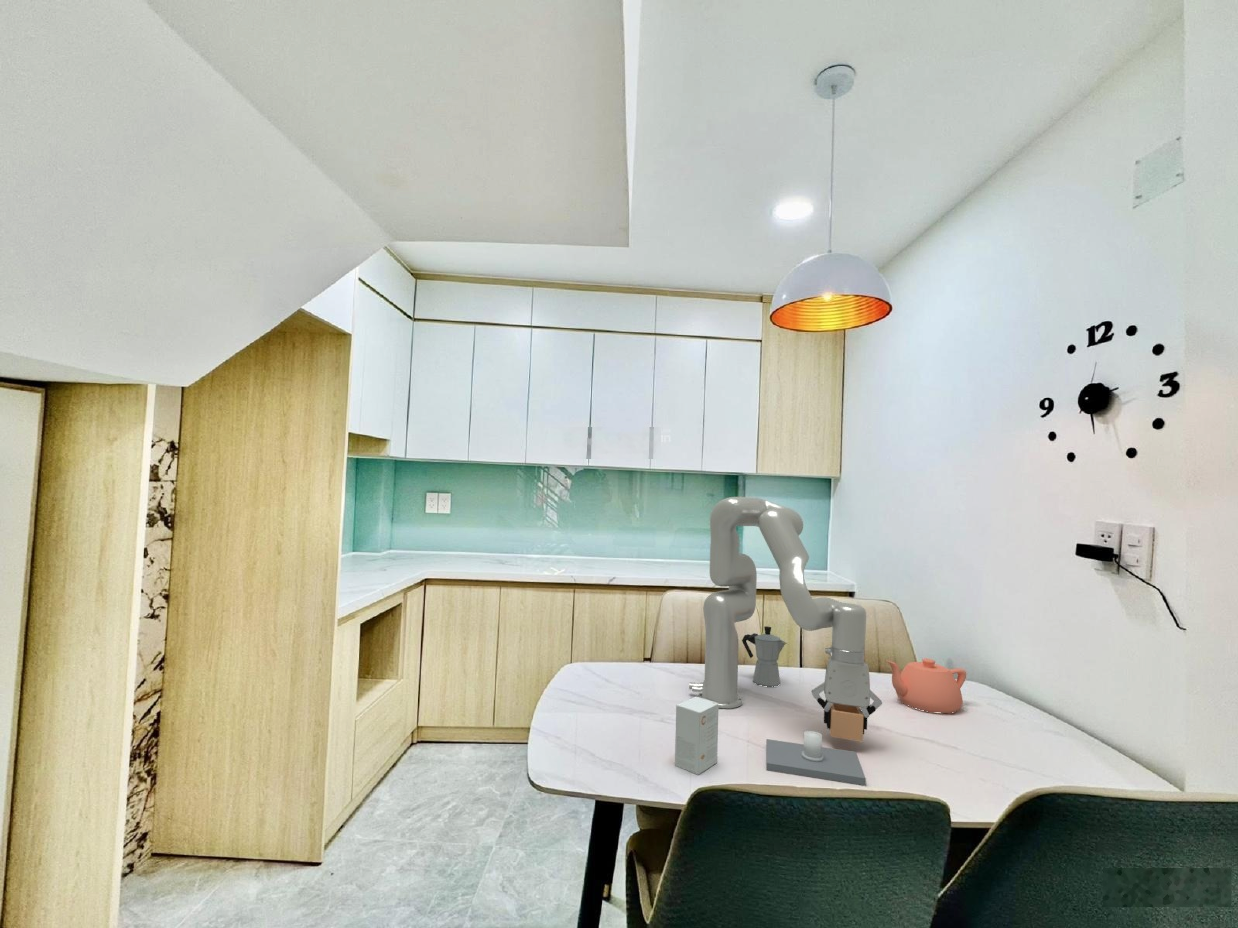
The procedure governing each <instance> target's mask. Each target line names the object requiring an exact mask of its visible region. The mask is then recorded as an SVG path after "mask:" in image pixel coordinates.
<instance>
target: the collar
mask: <svg viewBox="0 0 1238 928" xmlns="http://www.w3.org/2000/svg"><path fill="white" fill-rule="evenodd" d="M830 712H831V724H830V729H828V731H829V734H830V738H831V737H832V738H837V739H838V738H839V739H843V740H850V741H854V742H862V743H863V742H864V741H863V737H864V736H863V735H864V734H863V717H864V716H863V713H862V710H861V708H860V707H854V706H847V705H840V704H834V703H833V705H832V707H831V708H830Z"/></svg>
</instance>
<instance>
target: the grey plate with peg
mask: <svg viewBox="0 0 1238 928" xmlns="http://www.w3.org/2000/svg"><path fill="white" fill-rule="evenodd" d="M765 741H766V742H765V743H766V747H765V749H766V750H765V753H766V754H765V755H766V763H765V765H766V769H765V770H766V771H768V772H769V771H771V772H775V773H776V772H777V773H782V774H783V773H784V774H788V775H789V774H790V775H795V776H803V777H807V778H813V779H821V780H827V781H831V782H832V781H834V782H839V783H840V782H841V783H846V784H853V785H857V784H860V785H859V786H864V785H865V786H866V784H867V783H866V778H867V777H866V775H865V772H864V770H863V767H862V764H861V763H860V759H859V757H858V754H857V751H853V750H845V749H837V748H831V747H824V746H822V745H823V735H822V734H821V733H820V732H818V731H813V730H805V731H804V732H803V743H796V742H790V741H783V740H776V739H767V738H766V740H765ZM865 786H864V787H865Z"/></svg>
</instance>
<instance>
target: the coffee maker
mask: <svg viewBox="0 0 1238 928" xmlns="http://www.w3.org/2000/svg"><path fill="white" fill-rule="evenodd" d="M763 628H764V633H762V634H761V633H760V634H758V633H754V632H753V633H752V634H745V635H743V637H742V639H741V642H742V644H743V647H744V648H745V650H746V653H747V654H748V657H749V659H752V658H753V657H754V655H753V652H752V650H751V648H750V646H749V644H748V643H747V642H750V644H751V643H752V644H753V645H755V655H756V659H757V660H756V661H755V662H756V663H755V668H754V673H753V678H752V683H753V684H755V683H756V684H757V685H756V684H755V685H756V686H759V685H762V686H761V687H763V686H767V687H766V688H775V687H774V686H778V685H779V684H780V685H781V680H780V672H779V671H780V670H779V663H778V662H777V661H778V660H779V657H780V653H781V652H782V650H783V649H784V647H785V645H787V644H788V643H787V642H786V641H784V640H782V639H781V638H780V637H778V636H776V635H774V634H772V633H771V631H772V627H771V626H764V627H763ZM780 685H779V686H780ZM772 686H773V687H772ZM779 686H778V687H779Z"/></svg>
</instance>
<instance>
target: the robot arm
mask: <svg viewBox="0 0 1238 928" xmlns="http://www.w3.org/2000/svg"><path fill="white" fill-rule="evenodd" d="M737 527H757V528H758V529H759V530H760V532H761V535H762V537H763V539H764V541H765V543H766V545H767V547H768V548H769V550H770V553H771V555H772V557H773V559H774V561H775V563H776V565H777V567H778V570H779V575H778V576H779V588H780V593H781V594H780V595H781V597H782V600H783V603H784V604H785V606H786V609H787V610H788V612H789V614H790V616H791V618H792V620H793V621H794V622H795V624H796V625H797V626H798V627H799V628H801V630H805V631H808V632H812V631H818V630H822V629H828V628H832V632H831V634H832V635H831V645H830V647H825V648H824V649H825V650H824V652H825V655H826V654H827V655H830V656H829V657H828V659H827V664H826V669H825V674H824V675H825V676H824V681H823V682H822V683H821V684H819V685H818V686H816V687H815V688H813V689H811V695H812V696H813V698H814V699H815V700H816V702H817V704H818V705H819V706H820V707H821V708H822V709H823V724H825V725H826V729H828V730H829V729H830V724H831V712H830V708H831V707H832V705H833V703H834V704H840V705H847V706H854V707H860V709H861V711H862V713H863V716H864V717H863V735H865V731H867V730H868V719H869V718H870V716H871V715H872V714H873V713H874V712H876V710H877V709H878V708H879V707H881V706H882V705H883V702H882V700H881V699H880V697H878V696H877V695H876V694H875V693H874V692H873V691H872V690H871V680H870V669H869V665H868V663H867V662H865V656H866V655H865V653H866V629H867V611H866V609H865V608H864V606H862V605H859V604H855V603H848V602H847V603H846V602H842V601H839V600H835V599H833V598H830V597H827V596H822V597H815V598H813V597H812V595H811V593H810V591H809V589H808V587H807V585H806V582H805V574H804V573H805V569H806V566H807V564H808V562H809V560H810V555H809V553H808V551H807V549H806V547H805V545H804V544H803V542H802V540H801V538H800V537H799V536H800V535H801V534H802V533H803V529H804V521H803V519H802V516H801V515H800V514H799V513H798V512H797V511H796V510H794V509H791V508H789V507H786V506H783V505H781V504H777V503H774V502H772V501H769V500H766V499H763V498H760V497H759V498H758V497H748V496H731V497H726V498H723V499H721V500H720V501H718V502H717V503H716V504H715V505H714V507H713V508H712V509H711V512H710V518H709V528H710V529H709V531H710V543H709V544H710V546H709V578H710V581H711V582H712V583H713V584H714V585H715V586H719V587H728V589H727V590H726V589H725V590H719V591H715V592H712V593H711V594H709V595H708V596H707V597H706V598H705V600H704V601H703V606H702V610H703V611H702V612H703V617H704V627H705V628H704V629H705V644H704V645H705V648H704V649H705V650H704V651H705V652H704V653H705V656H704V680H703V682H700V683H696V682H690V681H689V687H688V689H689V690H691V692H696V693H697V692H698V697H699V698H703V699H706V700H710V701H713V702H716V703H718V704H719V709H734V708H735V709H737V708H739V707H740V706H742V705H743V698H742V697H741V695H739V694H738V678H739V675H738V673H739V672H738V671H739V635H738V634H739V633H738V632H737V629H736V624H735V623H740V622H743V621H747V620H750V618H752V616H753V615H754V614H755V610H756V606H757V605H756V604H757V583H758V582H757V578H758V577H757V576H758V575H757V573H758V572H757V566H756V565H755V562H754V560H753V559H752V558H751V557H750V556H749V555H747V554H745V553H742V552H741V553H740V546H741V545H740V541H741V540H740V537H739V532H738V531H737ZM821 693H824V697H825V700H824V699H823V698H822V696H820V694H821ZM871 700H872V701H873V702H872V703H871Z"/></svg>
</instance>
